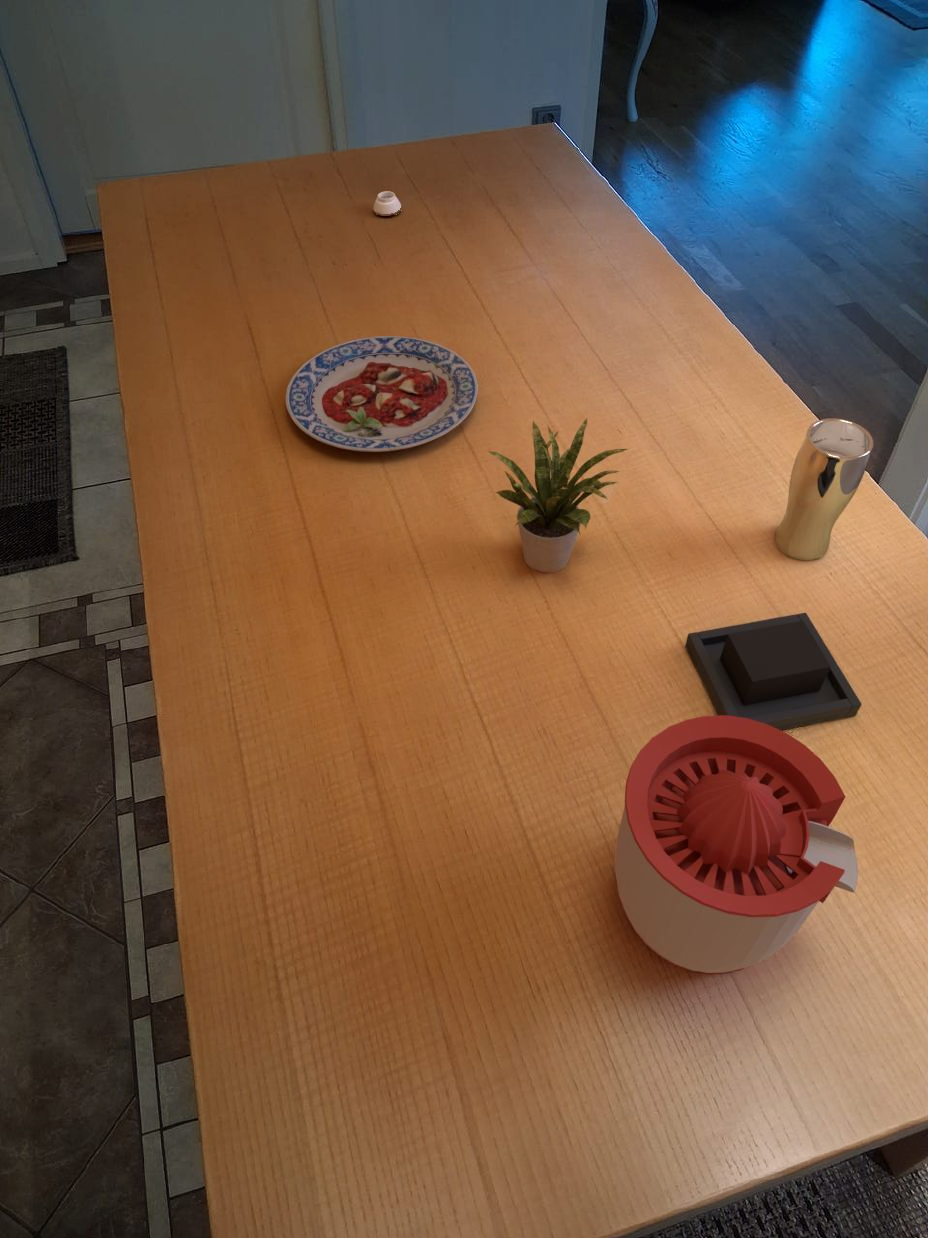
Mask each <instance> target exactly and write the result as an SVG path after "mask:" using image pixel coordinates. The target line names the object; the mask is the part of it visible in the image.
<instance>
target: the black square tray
mask: <svg viewBox="0 0 928 1238" xmlns="http://www.w3.org/2000/svg"><path fill="white" fill-rule="evenodd" d="M802 620H803V621H804V622H805V624H806V626H807V627H808V629H809V631H810V632H811V634H812V636H813V637H814V639H815V641H816V642H817V644H818V646H819V647H820V649H821V651H822V652H823V654H824V656H825V657H826V659H827V661H828V662H829V664H830V666H831V668H830V670H829V672H828V674H827V676H826V678H825V681H824V683H823V685H822V687H821V689H820V691H817V692H812V693H807V694H802V695H796V696H791V697H786V698H781V699H776V700H770V701H765V702H760V703H755V704H749V705H743V704H742V702H741V700H740V698H739V696H738V694H737V692H736V690H735V688H734V686H733V684H732V682H731V680H730V678H729V676H728V674H727V672H726V670H725V668H724V666H723V664H722V662H721V660H720V657H721V654H722V651H723V648H724V644H725V641H726V638H727V635H728V634H730V633H736V632H742V631H747V630H753V629H758V628H764V627H769V626H775V625H780V624H786V623H791V622H797V621H802ZM685 648H686V650H687V652H688V654H689V657H690V658H691V661H692V662H693V665H694V667H695V669H696V671H697V673H698V676H699V678H700V679H701V681H702V685H703V686H704V688H705V690H706V692H707V694H708V696H709V699H710V700H711V702H712V703H711V704H712V705H713V707H714V709H715V711H716V713H717V716H719V715H727V716H734V717H742V718H748V719H751V720H755V721H758V722H761V723H765V724H768V725H770V726H772V727H774V728H776V729H779V730H781V731H785V730H790V729H796V728H800V727H805V726H811V725H817V724H822V723H826V722H832V721H836V720H841V719H846V718H851V717H855V716H857V714H858V712H859V710H860V709H861V707H862V702H861V700H860V699H859V697H858V695H857V694H856V692H855V690H854V689H853V687H852V686H851V684H850V682H849V681H848V679H847V677H846V675H845V674H844V672H843V671H842V669H841V667H840V666H839V665H838V662H837V661H836V659H835V658H834V656H833V655H832V653H831V651H830V649H829V648H828V645H826V643H825V641H824V639H823V638H822V636H821V635H820V633H819V632H818V629H817V628H816V626H815V625H814V623H813V621H812V620H811V618H810V617H809V615H808V613H807V612H801V613H798V614H797V613H796V614H795V613H794V614H790V615H784V616H779V617H774V618H767V619H761V620H756V621H751V622H745V623H739V624H735V625H728V626H724V627H718V628H713V629H707V630H701V631H696V632H690V633H688V634H687V637H686V640H685Z"/></svg>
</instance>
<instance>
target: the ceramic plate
mask: <svg viewBox="0 0 928 1238" xmlns="http://www.w3.org/2000/svg"><path fill="white" fill-rule="evenodd" d="M478 384H479V383H478V379H477V376H476V374H475V372H474V370H473V367H471V365H470V364H469V363H468V361H466V360H465V359H464V358H463V357H462V356H460V355H459V354H458V353H457V352H455V351H454V350H451V349H450V348H448V347H446V346H444V345H441V344H439V343H436V342H434V341H430V340H426V339H422V338H417V337H412V336H411V337H410V336H408V337H407V336H401V335H377V336H371V337H370V336H369V337H363V338H357V339H353V340H348V341H346V342H343V343H339V344H335V345H334V346H330V347H329V348H327V349H324V350H323V351H321V352H319V353H318V354H316V355H314V356H313V357H311V358H310V359H308V360H307V361H305V362H304V363H303V364H302V365H301V366H300V367H299V368H298V369H297V371H296V372H295V373H293V375H292V377H291V379H290V380H289V382H288V385H287V388H286V391H285V405H286V409H287V412H288V414H289V416H290V418H291V420H292V421H293V423H295V425H296V426H297V427H298V428H299V429H300V430H301V431H302V432H304V433H305V434H306V435H308V436H309V437H311V438H312V439H314V440H316V441H318V442H321V443H323V444H325V445H328V446H332V447H335V448H339V449H344V450H349V451H355V452H365V453H367V452H369V453H371V452H372V453H382V452H383V453H385V452H391V451H392V452H393V451H398V450H405V449H410V448H415V447H417V446H420V445H424V444H427V443H429V442H433V441H434V440H436V439H438V438H440V437H443V436H444V435H446V434H448V433H449V432H451V431H452V430H454V429H455V428H457V427H458V426H460V424H461V423H462V422H463V421H464V420H465V419H466V418H467V417H468V416H469V414H470V413H471V411H472V410H473V408H474V406H475V404H476V401H477V398H478V391H479V385H478Z"/></svg>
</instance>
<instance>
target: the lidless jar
mask: <svg viewBox="0 0 928 1238" xmlns="http://www.w3.org/2000/svg"><path fill="white" fill-rule="evenodd" d="M401 206H402V203H401V202H400V201H399V198H398V197H397V196H396V193H394V192H393V191H389V190H385V191H381V192H379V193H378V194H377V196H376V199H375V201H374V204H373V206H372V211H373V210H374V211H375V212H378V213H381V214H391V213H395V212H397V211H398V210H400V208H401Z"/></svg>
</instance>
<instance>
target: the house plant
mask: <svg viewBox="0 0 928 1238" xmlns="http://www.w3.org/2000/svg"><path fill="white" fill-rule="evenodd" d="M587 425H588V417H587V418H585V419H584V421H583V422H582V423H581V424H580V426H579V427H578V429H577V430H576V433H575V435H574V437H573V440H572V442H571V444H570V447H569V448H568V449H566V450H565V451H564V452H563V453H562V455H561V454H560V446H559V444H558V442H557V439H556V437H557V435H558V433H559V429H558V430H557V431H556V433H554V432H553V430H551V428H550V427H549V426H547V431H548V434H549V441H548V442H546V440H545V439H544V437H543V435H542V433H541V430H540V428H539V426H538V424H536V423H535V420H533V421H532V440H533V443H532V444H533V450H534V483H535V488H536V489H535V488H534V486H533V485H532V483H531V482H530V480H529V478H528V477H527V476H526V474H525V473H524V471H523V470H522V469H521V467H520V466H519V465H518V464H517V463H516V461H514V460H513V459H511V458H510V457H509V458H508V457H506V456H504V455H503V454H501V453H499V452H497V451H490V450H487V452H488V453H489V454H491V455H492V456H494V457H496V458H497V459H498V460H499V461H500V462H502V463H503V464H504V465H505V466H506V467H507V468H508V469H509V470H510V471H511V472H512V473H513V474H514V475H515V477H517V479H518V481H519V482H520V483H518V482H517V481H516V480H515V478H513V476H512V475H511V474H509V472H507V471H504V473H505V475H506V477H507V478H508V480H509V483H510V485H511V487H512V489H513V490H511V489H502V490H498V491H496V492H495V494H498V495H499V496H500V498H503V499H504V500H506V501H508V502H511V503H513V504H515V505H517V506H519V508H518V509H517V514H516V518H517V519H516V520H517V521H516V523H515V527H516V526H518V530H519V536H520V543H521V546H522V547H521V548H522V553H523V559H524V561H525V563H526V565H527V566H528V567H529V568H530V569H532V570H535V571H538V572H540V573H546V574H548V573H556V572H559V571H561V570H563V569H564V568H565V567H566V566H567V565H568V563H569V561H570V559H571V556H572V553H573V549H574V547H575V543H576V540H577V537H578V534H579V535H581V532H580V528H581V526H583V527H584V528H585V529H584V530H587V526H588V525H589V522H590V520H591V513H590V512H589V510H587V509H584V508H579V507H578V506H579V505H580V504H581V503H582V502H583V501H584V500H586V498H588V497H589V496H591V495H592V494H595V496H598V497H600V498H603V499H606V500H607V501H609V499H608V497H607V496H606V495H605V494H604V493H603V492H602V491H601V489H603V488H604V487H607V486H610V485H615V484H617V483H619V482H618V481H600V479H601V478H603V477H605V476H607V475H610V474H616V473H619V472H621V471H620V470H613V469H612V470H604V471H601V472H598V473H597V474H594V475H593V476H591V477H587V478H583V479H582V480H580V479H581V478H582V477H583V476H584V475H585V474H586V473H587V472H588V471H589V470H590V469H592V468H593V467H594V466H596V465H597V464H599V463H601V462H603V461H604V460H605V459H607V458H609V457H611V456H612V455H615V454H619V453H623V452H625V451H627V450H629V448H615V449H609V450H605V451H602V452H600V453H598V454H596V455H594V456H592V457H591V458H589V459H588V460H586V461H585V462H584V463H582V465H581V466H580V467H579V469H578V470H577V471H576V473H575V474H574V475H573V476H572V477H571V473H572V471H573V469H574V466H575V464H576V462H577V459H578V456H579V454H580V452H581V449H582V446H583V444H584V443H583V442H584V436H585V431H586V428H587ZM550 446H551V455H550V452H549V448H550ZM526 493H527V494H528V495H527V494H526ZM529 495H530V496H531V498H530V497H529Z"/></svg>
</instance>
